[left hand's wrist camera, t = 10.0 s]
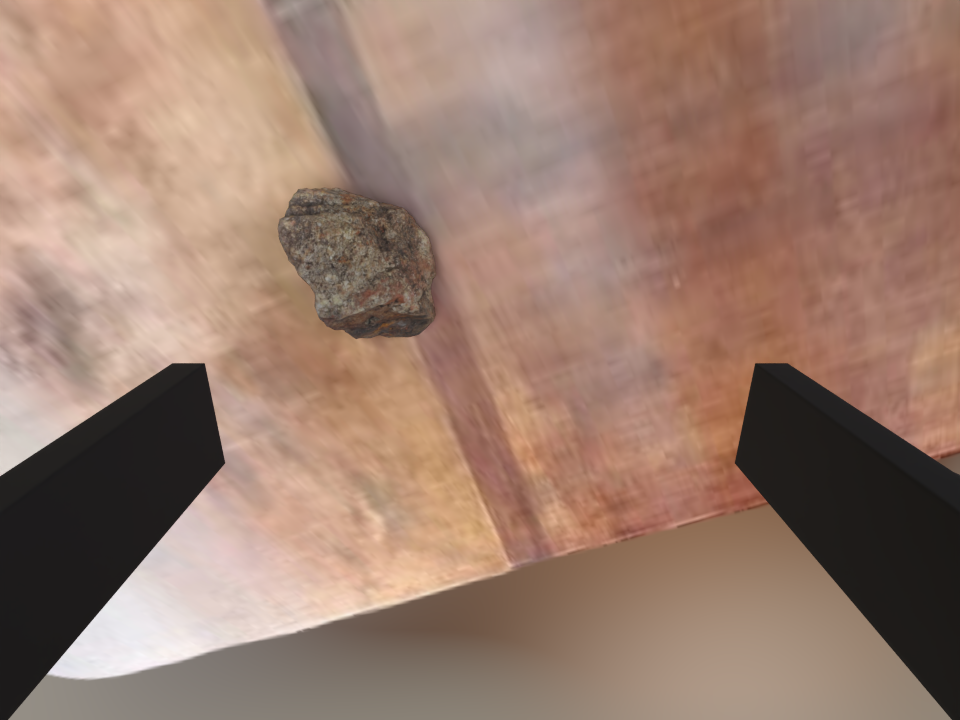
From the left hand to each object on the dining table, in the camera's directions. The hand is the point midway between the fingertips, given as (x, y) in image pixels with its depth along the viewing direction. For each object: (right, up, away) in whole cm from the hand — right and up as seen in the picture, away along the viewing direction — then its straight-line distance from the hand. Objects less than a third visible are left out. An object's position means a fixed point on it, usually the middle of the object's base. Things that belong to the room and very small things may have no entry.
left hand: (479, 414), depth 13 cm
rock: (-9, +10, +33) cm, 36 cm away
